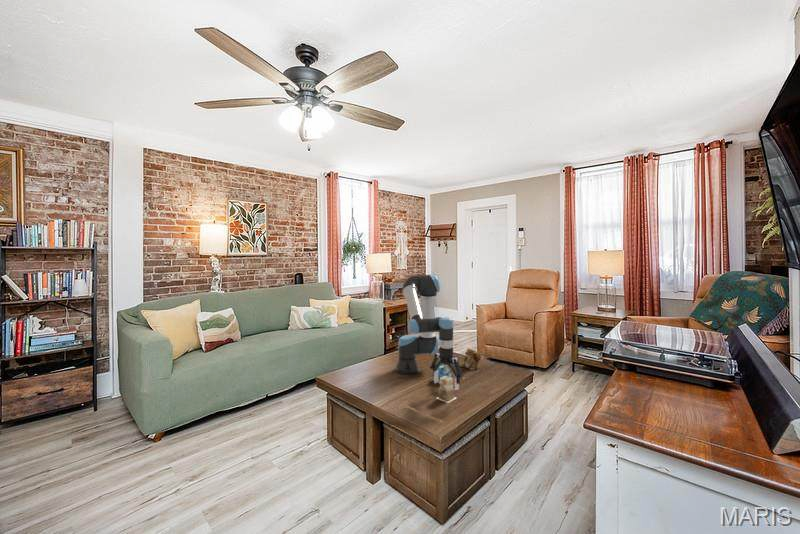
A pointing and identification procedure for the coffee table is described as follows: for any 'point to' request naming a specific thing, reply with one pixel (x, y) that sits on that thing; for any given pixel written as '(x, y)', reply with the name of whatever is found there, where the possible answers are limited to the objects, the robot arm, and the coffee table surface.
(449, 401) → the pad
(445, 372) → the toy excavator
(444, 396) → the walnut block
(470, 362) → the stuffed squirrel
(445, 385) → the maple block
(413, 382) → the coffee table surface
